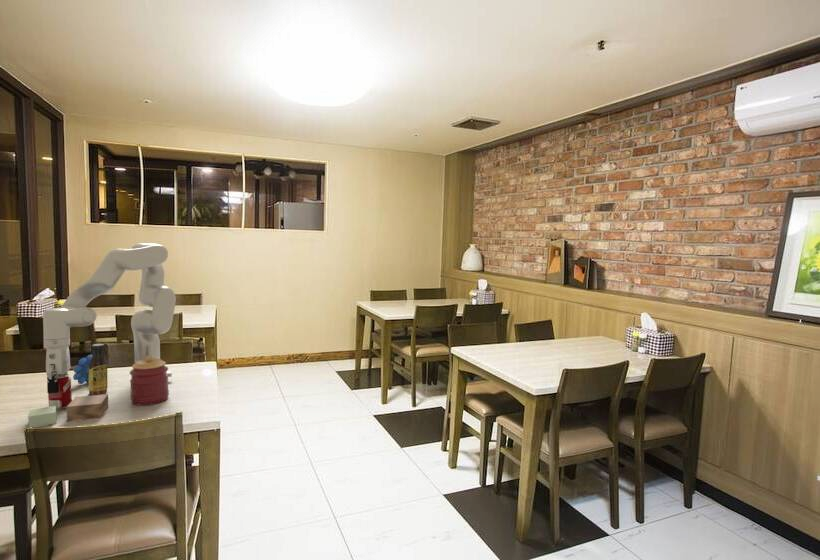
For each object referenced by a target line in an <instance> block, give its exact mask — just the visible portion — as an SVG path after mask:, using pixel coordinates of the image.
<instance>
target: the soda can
mask: <svg viewBox="0 0 820 560" xmlns="http://www.w3.org/2000/svg"><path fill="white" fill-rule="evenodd" d="M54 377H56V376H54ZM58 381H59V392H58V393H47V394H48V395H47V396H48V407H51V406H56V409H61V410H65V409H67V406H68V405H69V404H70V402H71V401H72V400H73V398H72V397H73V396H72V395H73V394H72V378H71V377H70V375H69V373H67V374H66V373H64V374H63V375H60V374H59V376H58ZM64 408H65V409H64Z"/></svg>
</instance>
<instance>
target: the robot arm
mask: <svg viewBox="0 0 820 560" xmlns="http://www.w3.org/2000/svg"><path fill="white" fill-rule="evenodd" d="M168 257H169V252H168V250H167V247H165V246H164V245H162V244H158V243H141V242H140V243H135V244H134V245H132V246H131V248H130V249H129V248H114V249H112V250H109V252H108V253H107V254H106V256H105V257H104V259H103V260H102V261H101V263H100V264H99V265H98V267H97V268H96V270H95V271H94V272H93V274H92V275H91V277H89V279H88V280H86V281H85V282H83V283H82V284H81V285H80V286H78V287H76V289H74V290H73V291H72V292H71V293H70V294H69V295H68V296H67V298H66V299H65V301H64V302H63V303H62V304H61V306H60V307H55V308H54V307H52V308H47V309H45V310H44V311H43V313H42V325H43V327H42V328H43V348H44V349H46V353H45V373H46V376H47V377H46V383H47V387H46V389H47V394H48V393H58V392H59V381H58V376H59V374H60V375H63V374H64V373H66V374H69V373H68V371H69V370H70V369H71V355H70V346H71V336H70V335H71V332H70V331H71V329H70V328H73V327H74V328H75V327H76V328H78V327H79V328H81V327H89V326H90V325H92V324H94V323H95V322H96V319H97V318H98V317H97V313H96V311H95V310H94V309H93V308H91V307H88V306H87V305H88V304H89V303H90V302H91V301H93V300H94V299H95V298H97V297H99V296H102V295H103V294H107V293H109V292H110V291H112V290H114V288H115V287H116V285H117V284H118V282H119V281H120V279H121V278H122V276H123V274H124V273H125V272H126V271H139V270H141V280H140V287H139V293H138V301H139V304H141V306H145V307H147V308H152V309H140V310H138V311H136V312H134V314H133V315H132V317H131V319H130V325H131V330H132V333H133V334H132V335H133V344H134V351H133V352H134V364H135V363H136V362H137V361H140V360H144V359H145V357H146V356H148V355H151V356H152V357H153V358H156V359H161V342H160V340H161V339H160V337H159V336H160V335H163V334H166V333H168V332H169V330H170V329H171V327H172V324H173V320H174V315H175V314H174V313H175V308H176V301H177V300H176V299H177V298H176V293H175V292H174V290H173V289H172V288H171V287H169V286H166V285H164V283H165V269H164V266H163V264H164V263H165V262H166V261H167V259H168ZM167 375H168V378H171V377H172V376H173V373H172V371H167ZM54 376H56V377H54Z"/></svg>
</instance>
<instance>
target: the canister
mask: <svg viewBox="0 0 820 560" xmlns="http://www.w3.org/2000/svg"><path fill="white" fill-rule="evenodd" d="M166 364H167V363H166V361H164V360H163V359H161V358H160V359H156V358H153V357H152V356H151V355H148V356H146V357H145V359H144V360H140V361H137V362H136V363H135V362H134V364H132V366H131V367H132V369H131V370H130V371H129V375H130V376H131V377H130V380H129V382H130V402H131V403H132V404H133V405H135V406H148V405H154V404H159V403H162V402H164V401H166V400H168V399H169V394H170V393H169V392H170V391H169V377H168V375H167V372H168V370H169V367H168V366H167V365H166Z"/></svg>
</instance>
